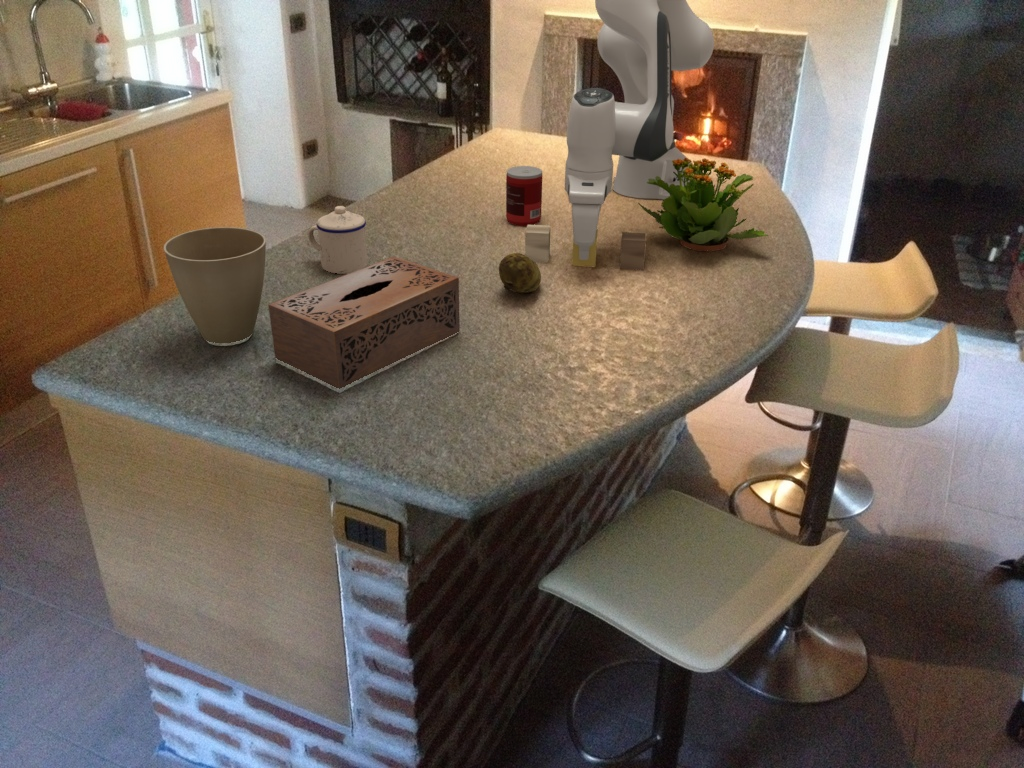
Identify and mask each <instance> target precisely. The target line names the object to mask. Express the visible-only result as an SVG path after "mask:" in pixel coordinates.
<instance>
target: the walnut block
mask: <svg viewBox="0 0 1024 768" xmlns="http://www.w3.org/2000/svg"><path fill="white" fill-rule="evenodd" d="M646 244H647V237H646V232H637V231H636V232H635V231H634V232H633V231H621V239H620V251H619V252H620V253H619V254H620V255H619V270H624V271H626V270H627V271H643V272H644V268H645V267H644V266H645V257H646V247H647V246H646Z"/></svg>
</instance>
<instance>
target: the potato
mask: <svg viewBox="0 0 1024 768" xmlns="http://www.w3.org/2000/svg"><path fill="white" fill-rule="evenodd" d="M498 274H499V278H500V281H501V283H502V285H503V288H504V290H506V291H512V292H515V293H519V294H521V293H531V292H534V291H535V290H537V289H538V287H539V286H540V285H541V281H542V275H541V274H542V273H541V270H540V267H539V266H538V265H537V262H534V261H533V260H531V259H530V258H529V257H527V256H525V254H523V253H520V252H519V253H518V252H513V253H512V252H511V253H509V254H507V255H506V256H504V258H502V259H501V260H500V262H499V265H498Z"/></svg>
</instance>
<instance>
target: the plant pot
mask: <svg viewBox="0 0 1024 768" xmlns="http://www.w3.org/2000/svg"><path fill="white" fill-rule="evenodd" d="M266 241H267V240H266V237H265V236H264V234H262V233H260V232H258V231H256V230H252V229H248V228H242V227H233V226H232V227H231V226H229V227H228V226H224V227H223V226H221V227H220V226H217V227H205V228H201V229H200V228H199V229H194V230H190V231H185V232H183V233H179V234H177V235H175V236H173V237H171V238H170V239H169V240H167V241H166V242H165V243H164V245H163V251H164V255H165V257H166V261H167V264H168V266H169V270H170V273H171V275H172V279H173V280H174V283H175V286H176V288H177V290H178V293H179V295H180V297H181V299H182V301H183V304H184V306H185V307H186V310H187V312H188V313H189V316H190V317H191V319H192V321H193V323H194V324H195V326H196V329H198V331H199V334H201V336H202V338H203V339H204V341H205V340H207V341H209V342H213V343H214V342H215V343H231V342H236V341H240V340H243V339H245V338H247V337H249V336H250V335H251V334H252V333H253V334H254V331H255V326H256V323H257V319H258V314H259V311H260V306H261V300H262V294H263V287H264V281H265V280H264V279H265V272H266V270H265V267H266V251H267V249H266V247H267V246H266V245H267V244H266V243H267V242H266ZM253 334H252V335H253Z"/></svg>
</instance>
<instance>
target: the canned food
mask: <svg viewBox="0 0 1024 768" xmlns="http://www.w3.org/2000/svg"><path fill="white" fill-rule="evenodd" d="M505 180H506V181H505V186H506V187H505V190H506V192H505V195H506V196H505V198H506V199H505V204H506V205H505V216H506V217H505V218H506V221H507V223H509V224H510V225H513V226H517V225H518V227H527V226H528V225H534V224H535V225H538V224H539V223H540V221H541V219H542V207H543V206H542V202H543V201H542V200H543V170H542V169H540V168H538V167H535V166H529V165H519V166H512V167H510V168H508V169H507V170H506V179H505Z"/></svg>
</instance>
